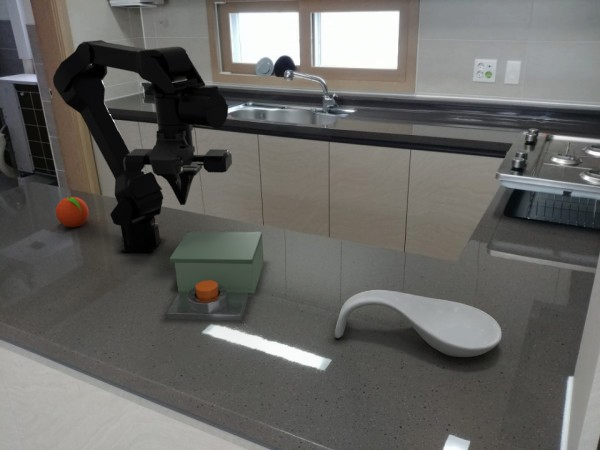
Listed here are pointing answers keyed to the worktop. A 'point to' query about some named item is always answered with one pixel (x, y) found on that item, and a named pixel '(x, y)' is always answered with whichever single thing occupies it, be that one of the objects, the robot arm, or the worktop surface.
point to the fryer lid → (217, 247)
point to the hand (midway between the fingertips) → (183, 204)
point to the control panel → (208, 306)
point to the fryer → (222, 274)
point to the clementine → (72, 212)
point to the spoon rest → (433, 321)
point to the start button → (207, 290)
